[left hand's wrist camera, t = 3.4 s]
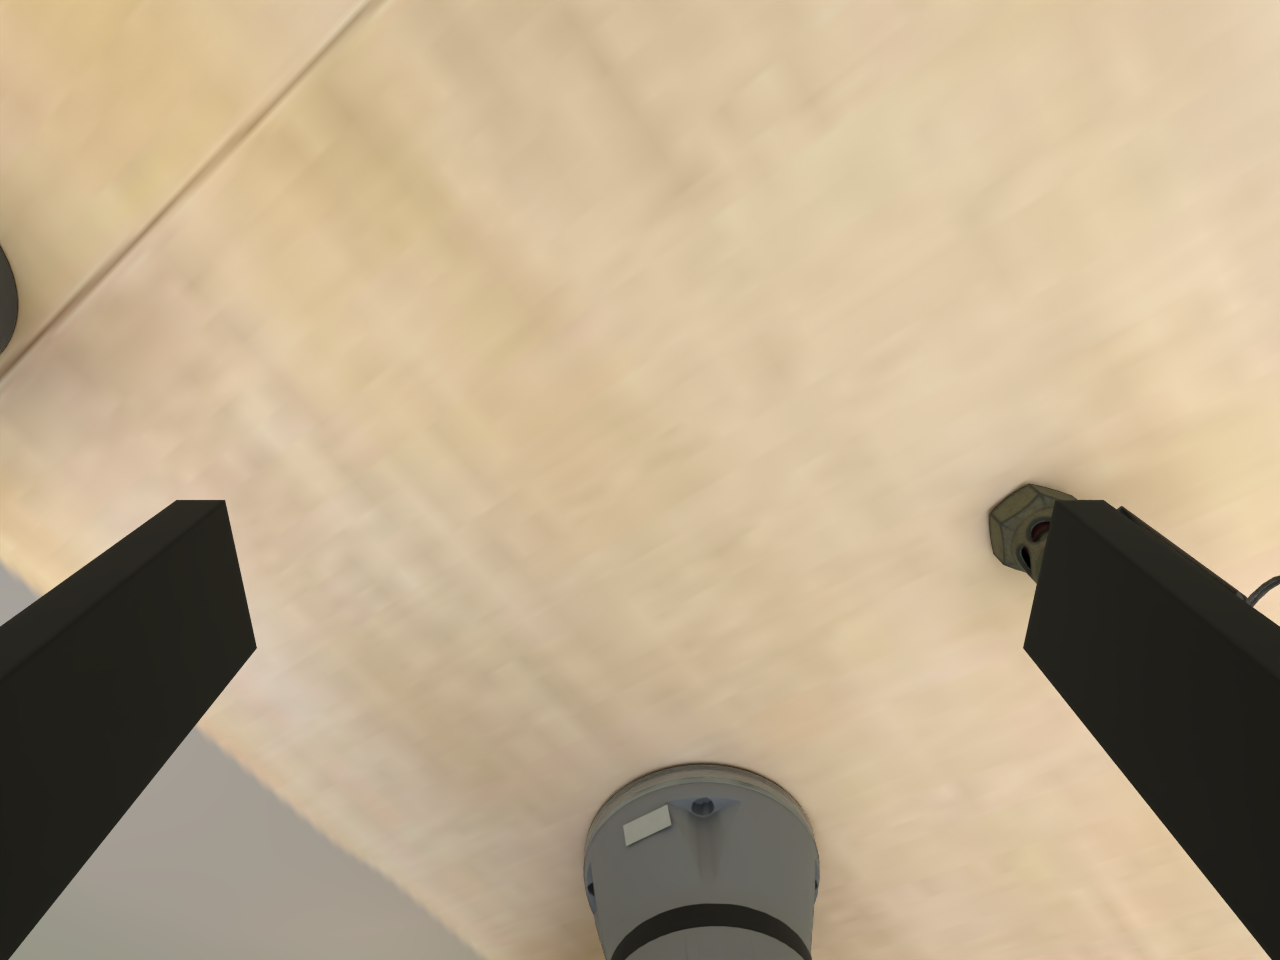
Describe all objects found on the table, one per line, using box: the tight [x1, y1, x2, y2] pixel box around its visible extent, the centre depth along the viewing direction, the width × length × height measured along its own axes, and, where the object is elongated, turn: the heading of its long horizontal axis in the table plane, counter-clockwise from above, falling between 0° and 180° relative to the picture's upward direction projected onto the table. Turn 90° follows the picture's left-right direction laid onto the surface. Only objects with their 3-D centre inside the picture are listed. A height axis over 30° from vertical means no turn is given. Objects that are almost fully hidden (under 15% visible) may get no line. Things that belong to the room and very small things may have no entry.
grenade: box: [989, 484, 1280, 607], centre depth 36 cm, size 9×6×15 cm, turn 134°
